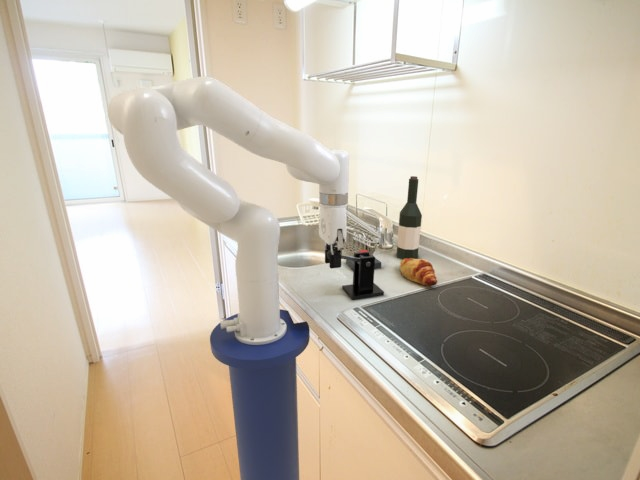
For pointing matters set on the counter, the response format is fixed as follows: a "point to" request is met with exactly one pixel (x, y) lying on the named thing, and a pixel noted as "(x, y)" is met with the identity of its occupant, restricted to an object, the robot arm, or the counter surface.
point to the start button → (363, 251)
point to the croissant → (418, 271)
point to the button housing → (377, 262)
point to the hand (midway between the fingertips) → (332, 264)
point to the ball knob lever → (346, 257)
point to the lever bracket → (363, 279)
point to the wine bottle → (409, 224)
